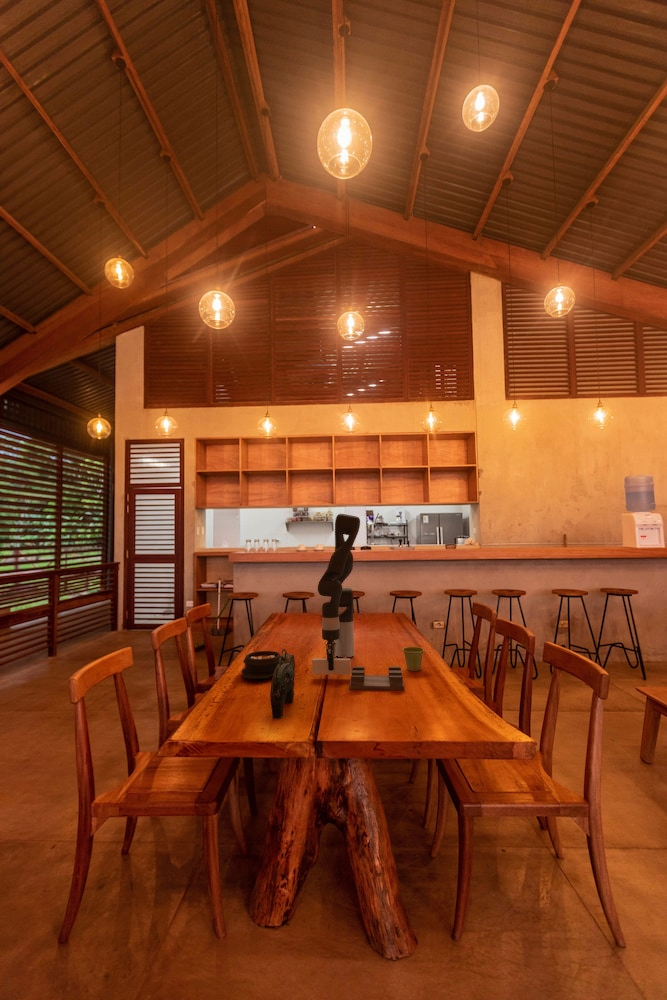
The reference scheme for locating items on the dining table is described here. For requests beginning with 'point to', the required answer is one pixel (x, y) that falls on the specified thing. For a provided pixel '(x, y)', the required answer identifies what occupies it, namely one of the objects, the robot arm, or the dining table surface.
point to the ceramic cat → (282, 684)
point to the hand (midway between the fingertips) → (331, 669)
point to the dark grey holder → (376, 680)
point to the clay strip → (340, 666)
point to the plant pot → (413, 658)
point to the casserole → (260, 664)
